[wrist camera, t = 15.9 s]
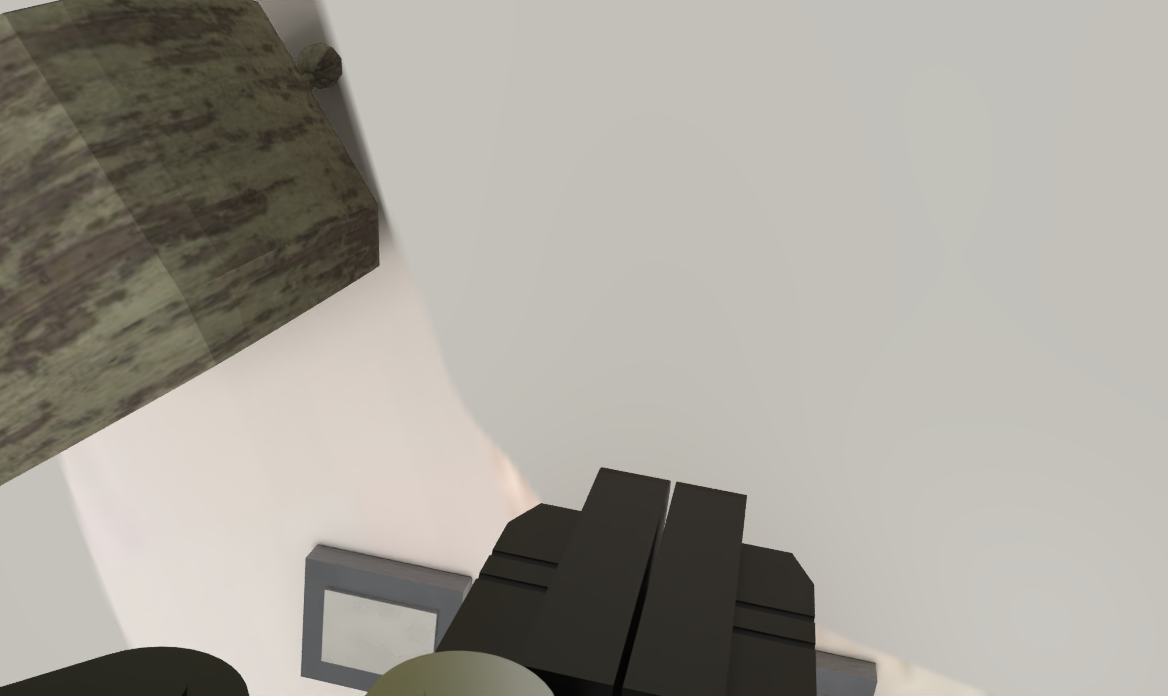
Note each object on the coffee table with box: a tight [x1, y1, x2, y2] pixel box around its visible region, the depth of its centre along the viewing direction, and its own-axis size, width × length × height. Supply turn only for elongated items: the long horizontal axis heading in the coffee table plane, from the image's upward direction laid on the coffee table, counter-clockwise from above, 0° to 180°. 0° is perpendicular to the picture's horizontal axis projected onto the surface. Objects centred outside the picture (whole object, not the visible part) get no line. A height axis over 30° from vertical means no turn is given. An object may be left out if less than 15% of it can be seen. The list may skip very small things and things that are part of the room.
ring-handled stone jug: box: [0, 0, 379, 486], centre depth 30 cm, size 14×9×25 cm, turn 120°
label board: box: [301, 545, 877, 696], centre depth 45 cm, size 24×6×1 cm, turn 83°
